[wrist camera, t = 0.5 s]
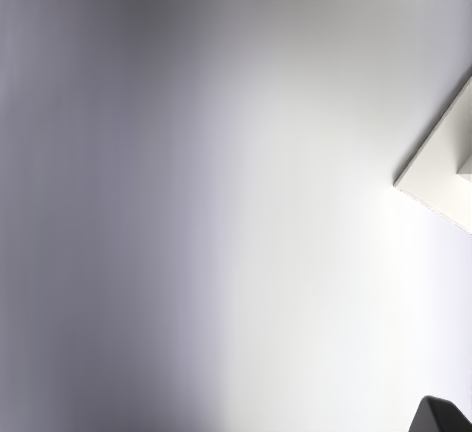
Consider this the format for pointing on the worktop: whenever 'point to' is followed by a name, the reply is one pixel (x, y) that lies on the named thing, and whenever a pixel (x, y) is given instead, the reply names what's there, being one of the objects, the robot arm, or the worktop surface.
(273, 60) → the worktop surface
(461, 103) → the stand
